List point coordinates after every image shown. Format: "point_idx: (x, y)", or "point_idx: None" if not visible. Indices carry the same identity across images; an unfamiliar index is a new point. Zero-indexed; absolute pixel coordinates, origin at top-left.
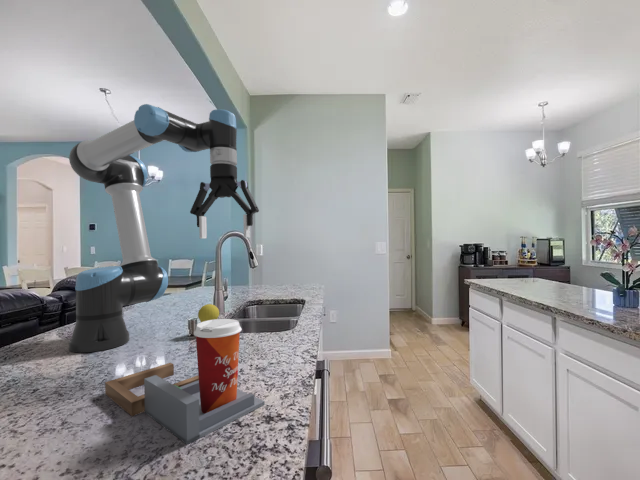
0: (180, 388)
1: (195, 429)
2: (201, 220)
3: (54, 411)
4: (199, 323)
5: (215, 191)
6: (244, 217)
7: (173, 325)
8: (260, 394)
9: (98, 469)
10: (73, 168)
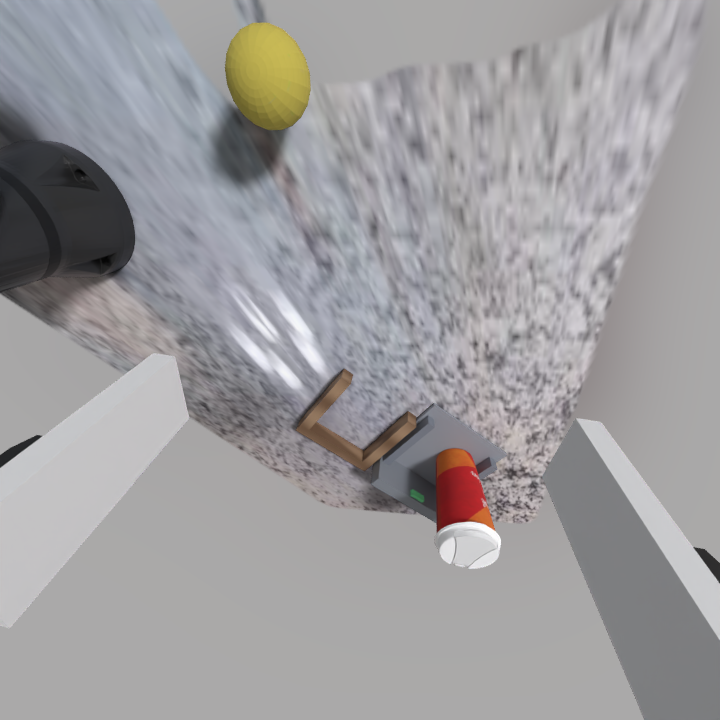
0: (422, 500)
1: None
2: (64, 562)
3: (278, 446)
4: (440, 550)
5: None
6: (652, 704)
7: None
8: (499, 432)
9: (386, 509)
10: None
